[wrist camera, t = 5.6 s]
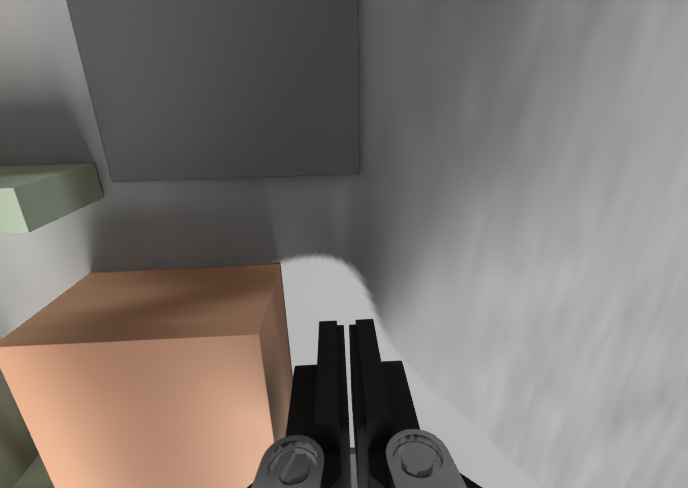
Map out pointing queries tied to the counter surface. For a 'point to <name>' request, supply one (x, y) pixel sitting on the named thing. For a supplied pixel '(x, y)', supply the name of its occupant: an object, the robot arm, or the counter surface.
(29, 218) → the green-grey pronged frame
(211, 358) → the block
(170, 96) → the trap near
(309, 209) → the counter surface
